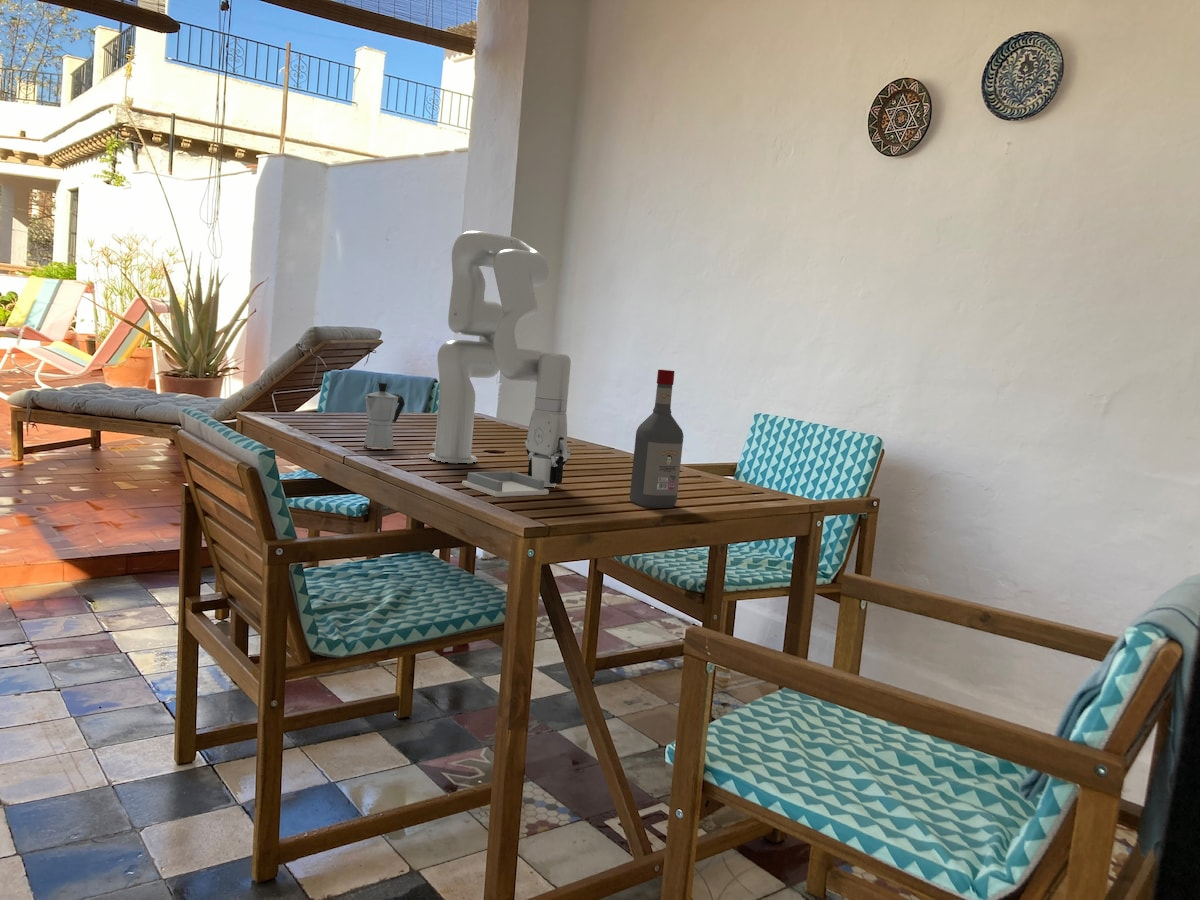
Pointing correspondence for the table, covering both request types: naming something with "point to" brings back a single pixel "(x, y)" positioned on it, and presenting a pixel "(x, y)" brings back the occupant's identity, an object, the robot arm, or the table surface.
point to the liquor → (658, 452)
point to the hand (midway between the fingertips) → (544, 479)
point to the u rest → (505, 484)
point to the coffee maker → (382, 416)
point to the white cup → (542, 468)
